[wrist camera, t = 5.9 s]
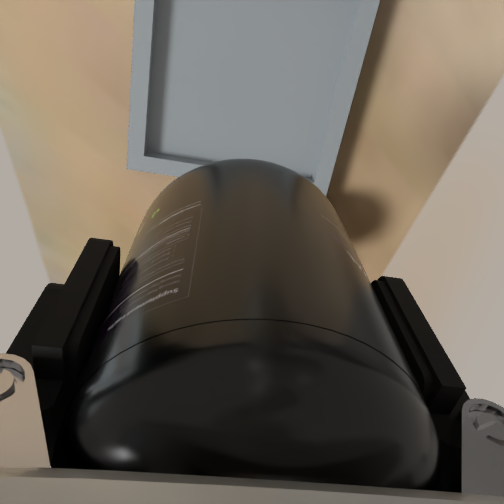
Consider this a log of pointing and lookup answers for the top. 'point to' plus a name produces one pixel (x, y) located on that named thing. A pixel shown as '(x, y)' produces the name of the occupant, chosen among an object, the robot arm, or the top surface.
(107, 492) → the robot arm
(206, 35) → the tray
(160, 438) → the supplement bottle
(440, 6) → the top surface
